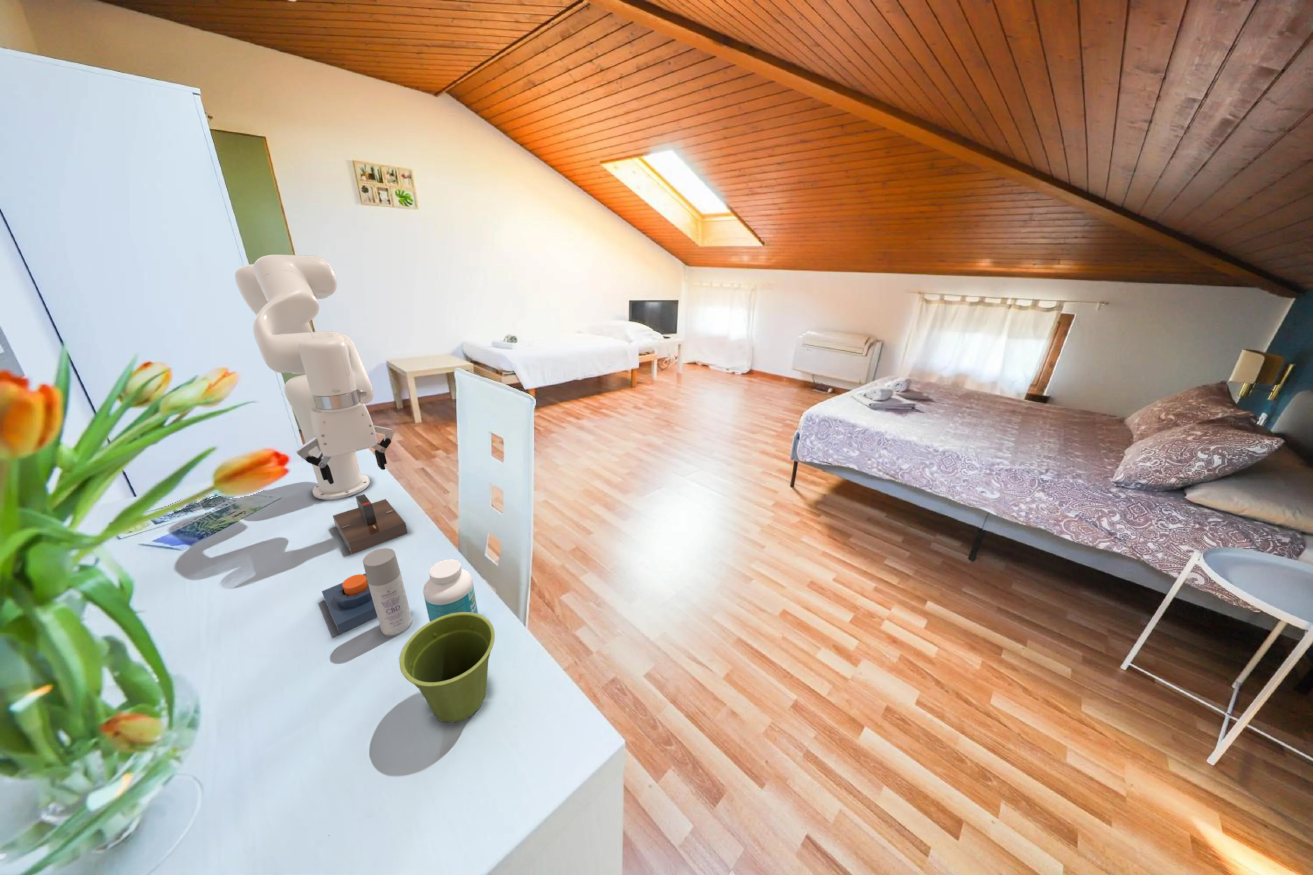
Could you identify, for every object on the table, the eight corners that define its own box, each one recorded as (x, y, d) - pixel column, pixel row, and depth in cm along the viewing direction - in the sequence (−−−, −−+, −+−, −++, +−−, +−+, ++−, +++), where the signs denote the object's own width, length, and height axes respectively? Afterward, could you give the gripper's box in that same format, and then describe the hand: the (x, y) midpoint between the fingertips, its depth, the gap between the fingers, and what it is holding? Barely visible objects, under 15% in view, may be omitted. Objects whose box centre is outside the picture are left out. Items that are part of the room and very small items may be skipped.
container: (393, 640, 72) (374, 570, 66) (375, 630, 74) (355, 560, 68) (418, 621, 76) (402, 552, 70) (400, 611, 78) (383, 544, 72)
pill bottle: (485, 633, 74) (476, 571, 69) (439, 655, 70) (425, 591, 64) (472, 607, 79) (462, 548, 74) (428, 626, 75) (414, 564, 70)
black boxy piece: (360, 514, 99) (355, 495, 97) (369, 512, 101) (364, 492, 99) (367, 526, 96) (362, 506, 94) (377, 522, 97) (371, 503, 95)
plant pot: (395, 722, 60) (377, 665, 55) (458, 655, 70) (448, 602, 65) (462, 756, 56) (449, 698, 52) (519, 679, 66) (512, 626, 62)
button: (342, 588, 77) (339, 580, 77) (365, 578, 80) (363, 571, 79) (347, 598, 75) (345, 591, 75) (370, 588, 78) (368, 581, 77)
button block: (324, 600, 79) (318, 583, 78) (379, 577, 85) (375, 561, 84) (339, 635, 72) (333, 617, 71) (398, 607, 79) (393, 590, 77)
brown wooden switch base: (335, 526, 100) (332, 514, 99) (388, 509, 107) (385, 498, 106) (352, 554, 91) (348, 542, 90) (407, 533, 99) (405, 522, 97)
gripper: (379, 388, 95) (395, 457, 102) (279, 404, 83) (304, 481, 90) (390, 395, 90) (406, 468, 97) (285, 413, 79) (311, 494, 85)
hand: (357, 474), depth 93 cm, fingers open, 9 cm apart
